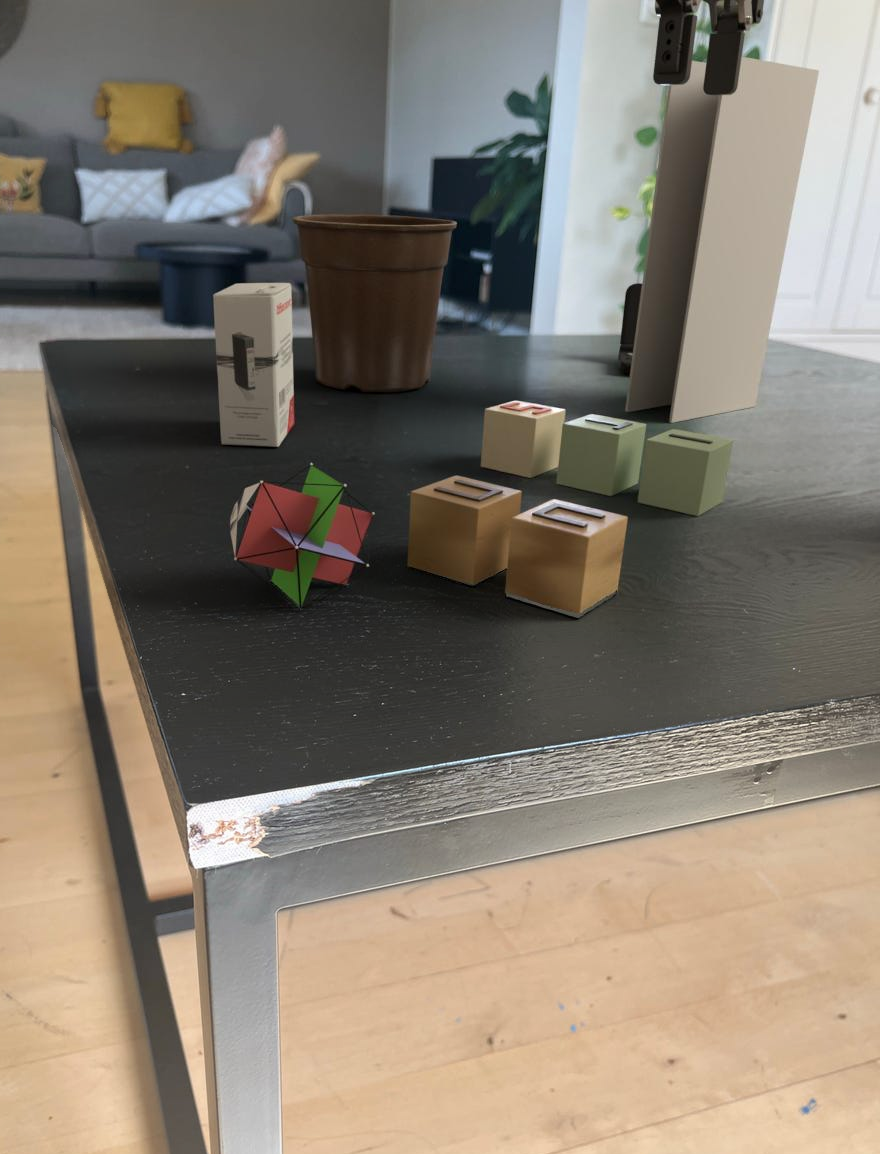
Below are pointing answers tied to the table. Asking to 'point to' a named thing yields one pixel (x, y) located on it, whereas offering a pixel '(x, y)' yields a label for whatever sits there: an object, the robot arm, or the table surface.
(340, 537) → the geometric puzzle
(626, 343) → the game console
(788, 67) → the brochure
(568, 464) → the green cube
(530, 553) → the letter u
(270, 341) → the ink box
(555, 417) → the cream letter block
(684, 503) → the letter i
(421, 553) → the tan cube
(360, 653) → the table surface
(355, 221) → the plant pot
